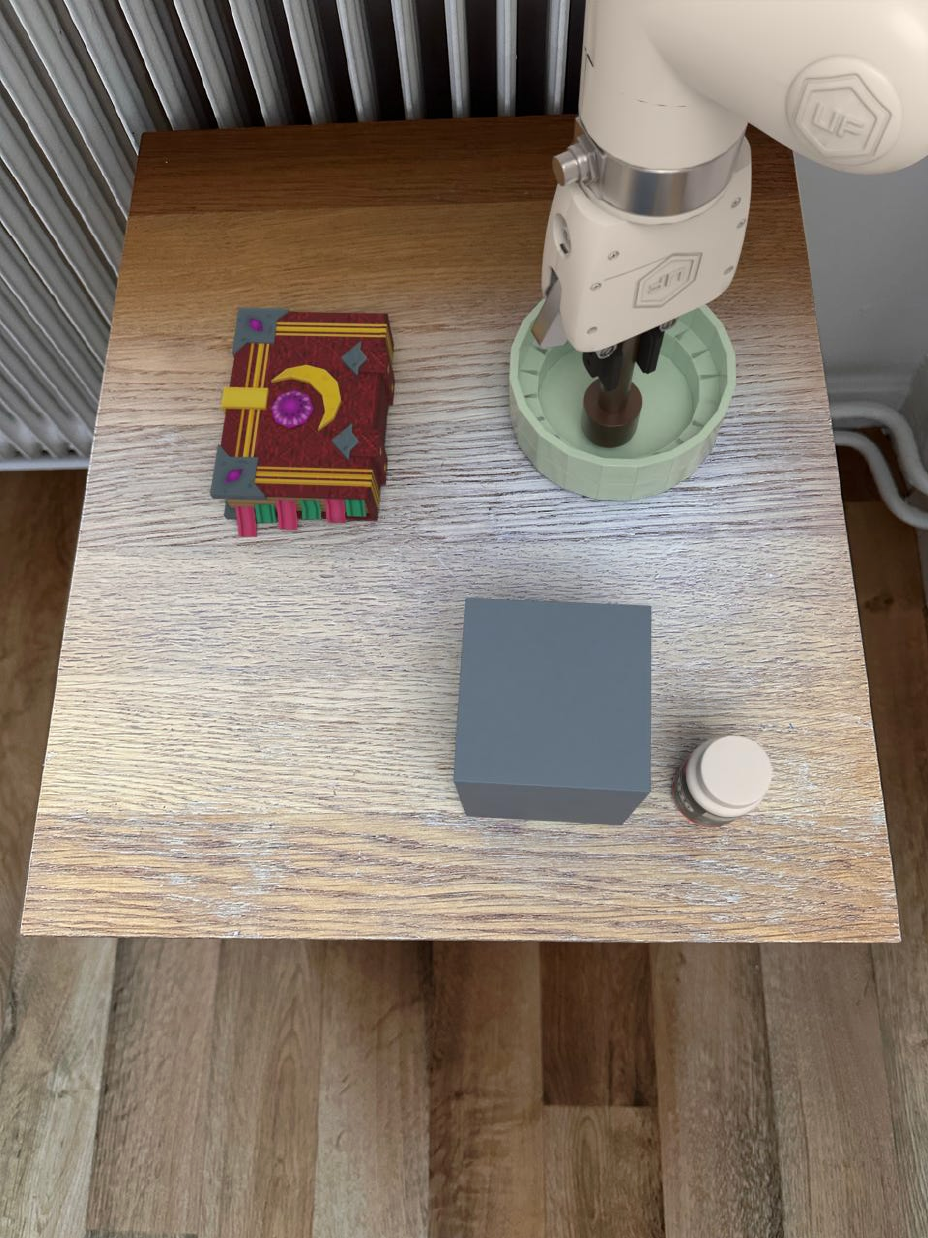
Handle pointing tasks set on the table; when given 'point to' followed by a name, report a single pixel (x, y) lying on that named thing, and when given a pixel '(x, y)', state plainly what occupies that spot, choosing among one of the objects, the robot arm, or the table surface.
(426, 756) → the table surface
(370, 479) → the decorative book
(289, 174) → the table surface
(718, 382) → the bowl
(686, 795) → the pill bottle
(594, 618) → the stand
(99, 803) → the table surface
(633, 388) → the brown wooden handle
